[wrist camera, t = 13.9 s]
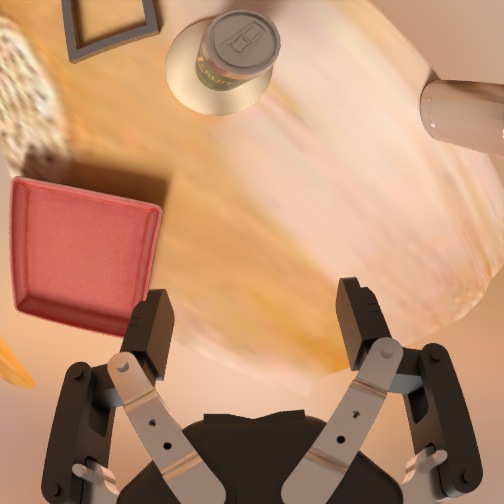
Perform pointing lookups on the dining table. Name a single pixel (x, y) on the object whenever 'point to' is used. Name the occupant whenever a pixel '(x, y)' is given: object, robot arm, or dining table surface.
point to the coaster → (192, 89)
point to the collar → (109, 43)
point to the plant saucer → (80, 254)
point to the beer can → (236, 49)
